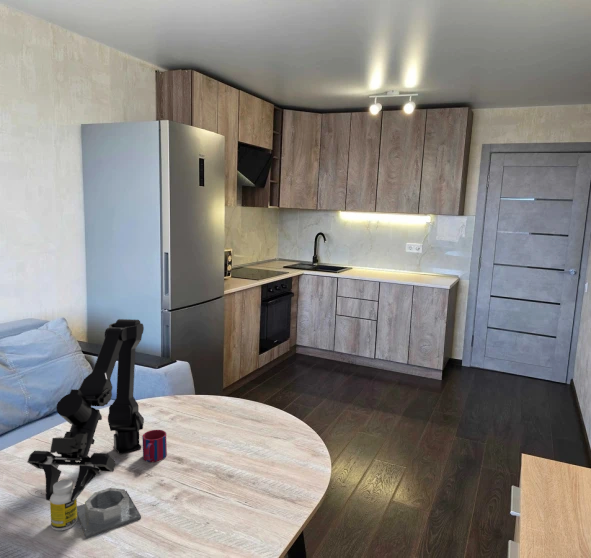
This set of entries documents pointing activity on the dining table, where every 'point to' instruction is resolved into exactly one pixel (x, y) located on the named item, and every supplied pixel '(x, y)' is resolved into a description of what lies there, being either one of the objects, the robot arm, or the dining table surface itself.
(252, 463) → the dining table surface
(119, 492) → the collar
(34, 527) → the dining table surface
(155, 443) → the mug
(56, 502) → the supplement bottle
